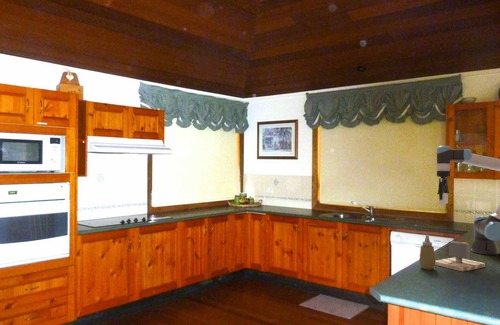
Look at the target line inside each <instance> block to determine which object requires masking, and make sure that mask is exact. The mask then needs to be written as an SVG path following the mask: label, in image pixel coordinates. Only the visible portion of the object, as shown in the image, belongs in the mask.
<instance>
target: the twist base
mask: <svg viewBox="0 0 500 325" xmlns="http://www.w3.org/2000/svg"><path fill="white" fill-rule="evenodd" d="M434 266H439V267H443V268H447V269H452V270H455V271H459V272H467V271H472V270H476V269H481V268H485V267H486V264H485V262H481V261H477V260H476V261H475V260H471V259H462V258H457V257H450V258H449V257H448V258H442V259H438V260H437V259H435V265H434Z"/></svg>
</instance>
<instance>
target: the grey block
mask: <svg viewBox="0 0 500 325" xmlns="http://www.w3.org/2000/svg"><path fill="white" fill-rule="evenodd" d="M448 257H451V258H454V257H457V258H462V259H467V260H471V259H470V258H471V244H470V243H468V242H466V241H465V242H464V241H462V242H460V241H453V240H451V241H448Z"/></svg>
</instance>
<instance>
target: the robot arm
mask: <svg viewBox="0 0 500 325" xmlns="http://www.w3.org/2000/svg"><path fill="white" fill-rule="evenodd" d="M451 162H453V163H454V162H455V163H459V164H460V163H461V164H464V165H470V166H475V167H478V168H484V169H489V170H494V171H497V172H500V158H496V157H493V156H492V157H491V156H485V155H482V154H477V153H472V150H471V149H469V148H455V149H454V148H451V147H450V146H449V145H439V146H437V148H436V177H437V178H438V190H437V191H438V192H437V195H438V206H444V205H445V204H449V194H450V191H449V183H448V181H449V180H448V178H450V177H451V171H450V170H451V167H452V165H451ZM439 177H440V178H439ZM499 241H500V203H499V204H498V206H497V207H496V209H495V210H494V212H493V213H491V214H489V215H488V216H475V217H474V219H473V242H472V244H471V246H470V252H472V253H475V254H480V255H487V256H488V255H491V256H492V255H498V254H499V248H498V246H497V243H496V242H499Z"/></svg>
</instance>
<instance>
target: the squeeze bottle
mask: <svg viewBox="0 0 500 325" xmlns="http://www.w3.org/2000/svg"><path fill="white" fill-rule="evenodd" d="M419 250H420V251H419V260H418V262H419V265H420V266H421V267H420V268H421V269H424V270H430V271H431V270H434V268H435V266H436V265H435V261H436V254H435V247H434V246H433V242H432V241H430V237H429V235H428V234H426V235H425V238H424V241H422V245H421V246H420V249H419Z"/></svg>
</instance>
